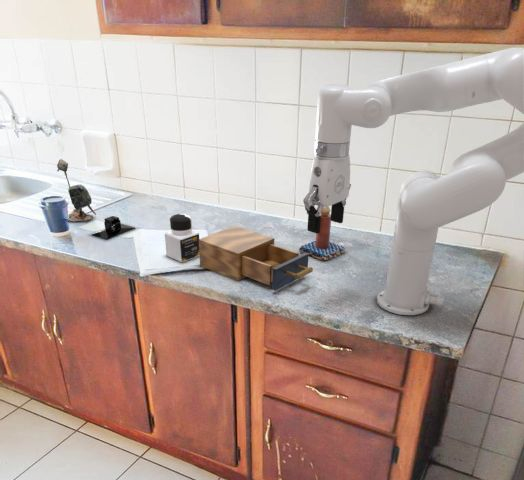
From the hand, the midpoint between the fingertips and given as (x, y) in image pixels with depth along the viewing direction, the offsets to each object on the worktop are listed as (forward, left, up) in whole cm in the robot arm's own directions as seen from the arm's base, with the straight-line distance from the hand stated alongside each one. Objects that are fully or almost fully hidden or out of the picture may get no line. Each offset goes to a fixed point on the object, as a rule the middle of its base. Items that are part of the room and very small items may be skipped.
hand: (325, 226), depth 121 cm
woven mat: (+7, -28, -18) cm, 34 cm away
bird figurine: (+91, -25, -18) cm, 96 cm away
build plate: (+74, -19, -18) cm, 78 cm away
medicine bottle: (+44, -10, -18) cm, 48 cm away
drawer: (+13, -4, -17) cm, 22 cm away
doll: (+7, -28, -16) cm, 33 cm away
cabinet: (+27, -10, -18) cm, 34 cm away
